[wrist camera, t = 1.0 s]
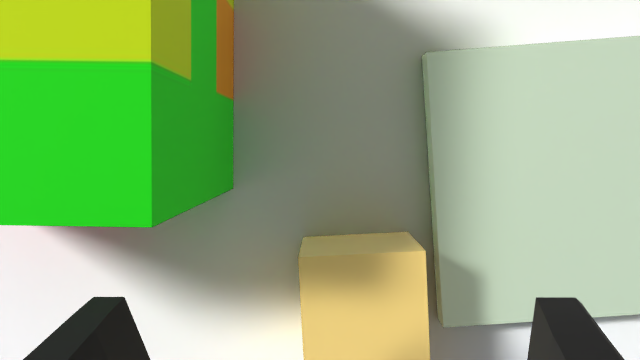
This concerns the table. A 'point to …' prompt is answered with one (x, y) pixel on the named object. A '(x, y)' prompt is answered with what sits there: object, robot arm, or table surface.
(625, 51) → the baseplate
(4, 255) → the table surface
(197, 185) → the puzzle toy
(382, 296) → the ochre brick
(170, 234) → the table surface
